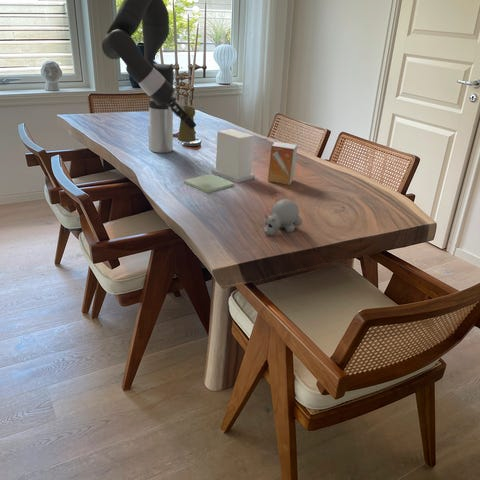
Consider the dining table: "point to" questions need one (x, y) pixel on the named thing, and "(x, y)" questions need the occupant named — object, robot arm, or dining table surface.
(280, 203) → the round bodied animal figurine
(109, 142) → the dining table surface
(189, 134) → the cork
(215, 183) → the plate
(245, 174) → the housing
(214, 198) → the dining table surface
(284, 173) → the small box
